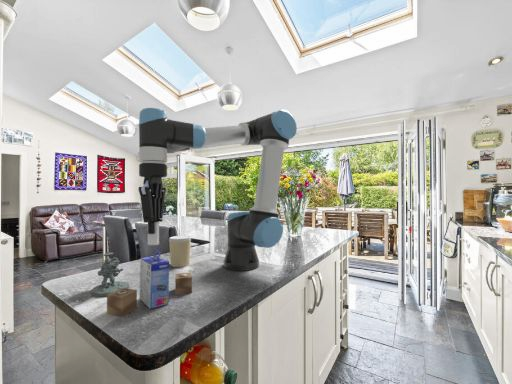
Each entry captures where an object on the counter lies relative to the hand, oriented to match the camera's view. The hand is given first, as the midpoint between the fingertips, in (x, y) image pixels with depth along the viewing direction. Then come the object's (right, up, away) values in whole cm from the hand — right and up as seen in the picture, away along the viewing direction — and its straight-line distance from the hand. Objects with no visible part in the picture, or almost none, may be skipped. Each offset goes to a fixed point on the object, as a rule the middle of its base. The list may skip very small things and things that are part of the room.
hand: (153, 244), depth 73 cm
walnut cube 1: (-6, -17, -6) cm, 19 cm away
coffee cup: (-3, -17, +37) cm, 41 cm away
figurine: (-18, -17, +9) cm, 26 cm away
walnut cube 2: (+6, -17, +8) cm, 19 cm away
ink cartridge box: (0, -17, 0) cm, 17 cm away
